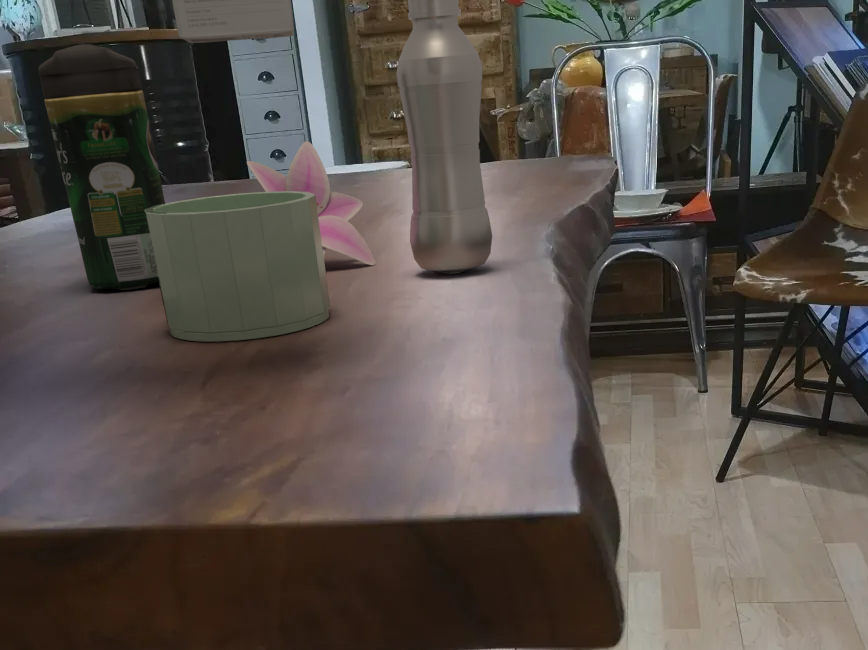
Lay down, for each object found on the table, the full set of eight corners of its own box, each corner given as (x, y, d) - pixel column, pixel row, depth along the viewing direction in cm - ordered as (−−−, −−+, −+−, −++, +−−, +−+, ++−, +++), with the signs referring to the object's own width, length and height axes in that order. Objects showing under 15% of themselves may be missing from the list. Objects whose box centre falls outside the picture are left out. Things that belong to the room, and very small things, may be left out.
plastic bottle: (424, 266, 94) (399, -5, 84) (501, 263, 92) (485, -13, 83) (403, 280, 88) (374, -8, 79) (486, 277, 87) (466, -17, 78)
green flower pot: (147, 346, 73) (120, 218, 69) (197, 311, 83) (175, 197, 79) (312, 336, 72) (293, 206, 68) (342, 302, 82) (328, 187, 78)
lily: (232, 298, 93) (257, 191, 86) (216, 226, 100) (238, 123, 93) (367, 323, 98) (400, 224, 92) (342, 253, 105) (371, 157, 99)
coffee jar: (93, 279, 101) (40, 49, 92) (180, 269, 102) (136, 42, 94) (83, 296, 93) (24, 46, 84) (179, 286, 94) (130, 38, 85)
